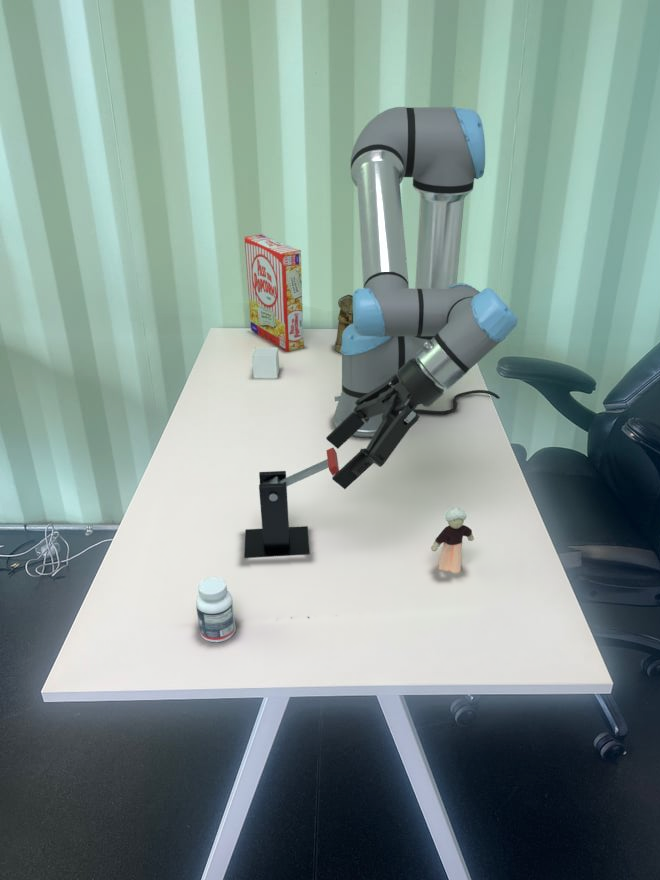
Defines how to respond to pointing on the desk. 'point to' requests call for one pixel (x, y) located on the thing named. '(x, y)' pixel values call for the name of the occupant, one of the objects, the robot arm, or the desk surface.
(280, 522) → the bracket
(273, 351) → the pale blue cube
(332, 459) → the lever
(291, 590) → the desk surface
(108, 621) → the desk surface
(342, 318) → the bronze figurine
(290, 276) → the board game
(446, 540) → the grandmother figurine
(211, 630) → the pill bottle
